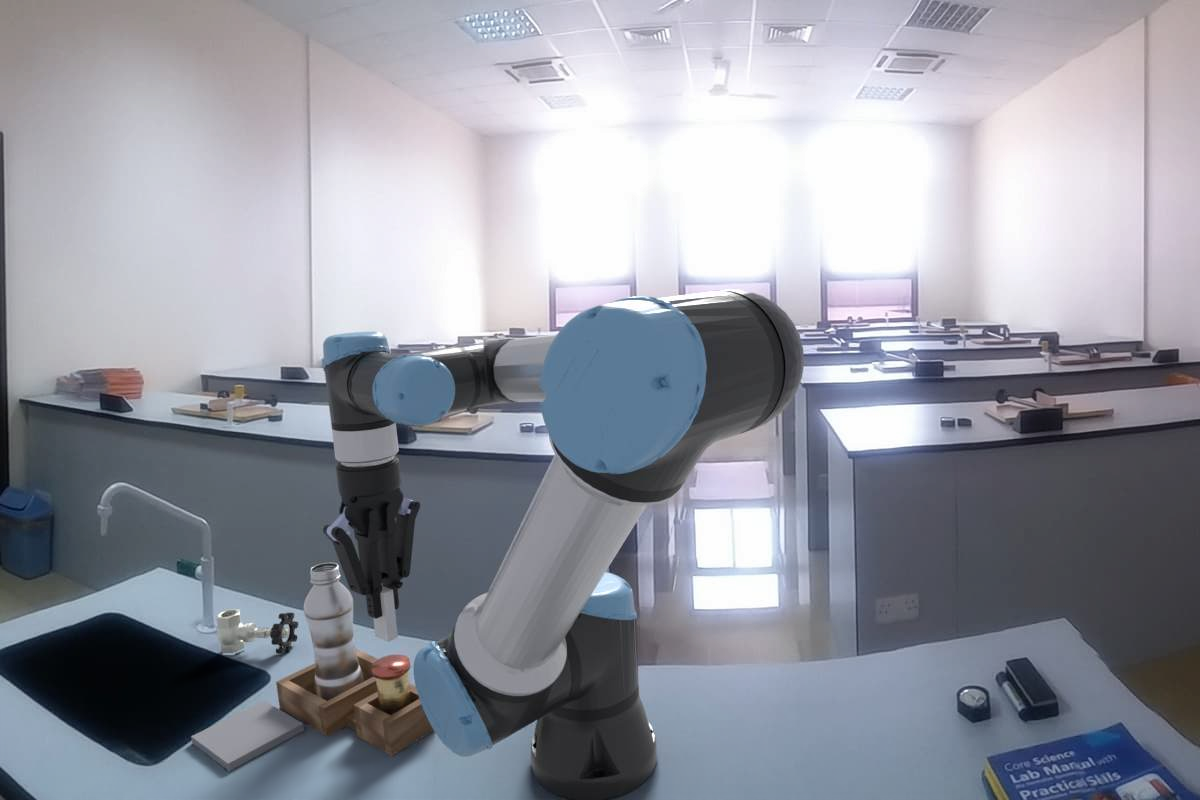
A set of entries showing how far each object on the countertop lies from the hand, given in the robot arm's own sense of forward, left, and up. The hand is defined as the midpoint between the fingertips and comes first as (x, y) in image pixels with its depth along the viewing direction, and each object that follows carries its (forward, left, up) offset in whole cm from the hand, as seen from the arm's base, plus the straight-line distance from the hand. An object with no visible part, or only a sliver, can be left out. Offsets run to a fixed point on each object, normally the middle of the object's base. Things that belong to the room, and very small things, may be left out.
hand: (386, 636), depth 99 cm
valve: (+38, -1, -14) cm, 41 cm away
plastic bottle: (+13, 0, -14) cm, 19 cm away
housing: (+7, 0, -13) cm, 15 cm away
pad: (+16, +12, -13) cm, 24 cm away
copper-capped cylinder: (0, 0, -10) cm, 10 cm away
